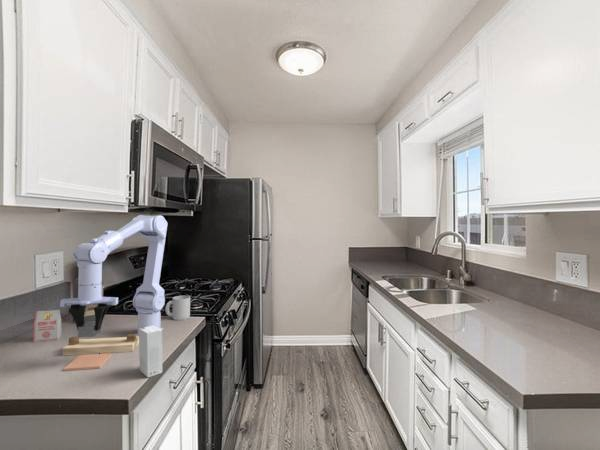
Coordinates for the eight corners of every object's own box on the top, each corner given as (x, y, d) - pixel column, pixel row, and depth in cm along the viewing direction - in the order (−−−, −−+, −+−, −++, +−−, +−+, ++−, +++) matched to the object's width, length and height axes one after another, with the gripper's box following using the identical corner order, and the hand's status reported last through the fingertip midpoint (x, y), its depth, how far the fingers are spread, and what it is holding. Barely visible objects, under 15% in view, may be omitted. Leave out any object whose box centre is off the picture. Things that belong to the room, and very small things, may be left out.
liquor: (71, 320, 129) (72, 248, 129) (95, 315, 136) (96, 247, 136) (79, 324, 123) (80, 249, 123) (104, 319, 131) (105, 248, 131)
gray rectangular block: (86, 331, 94) (86, 321, 94) (100, 330, 95) (101, 320, 95) (78, 337, 89) (78, 326, 89) (93, 336, 90) (93, 326, 90)
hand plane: (74, 346, 103) (74, 334, 103) (139, 342, 107) (139, 331, 107) (62, 355, 96) (62, 342, 96) (132, 351, 100) (132, 339, 100)
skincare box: (163, 373, 86) (163, 329, 86) (146, 378, 83) (147, 333, 83) (154, 365, 90) (154, 324, 90) (137, 370, 87) (138, 327, 87)
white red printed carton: (38, 338, 109) (38, 310, 109) (61, 336, 111) (61, 308, 111) (33, 342, 106) (33, 313, 105) (57, 339, 108) (57, 311, 108)
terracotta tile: (79, 356, 95) (79, 355, 95) (111, 354, 97) (111, 353, 97) (63, 370, 86) (63, 368, 86) (99, 368, 88) (99, 366, 88)
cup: (191, 319, 134) (191, 298, 133) (166, 322, 129) (166, 300, 129) (188, 314, 140) (188, 294, 140) (164, 317, 135) (164, 297, 135)
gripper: (54, 287, 86) (53, 336, 86) (112, 286, 89) (111, 333, 89) (67, 282, 93) (67, 327, 93) (120, 281, 96) (120, 325, 96)
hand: (89, 329), depth 91 cm, fingers closed on gray rectangular block, 4 cm apart
